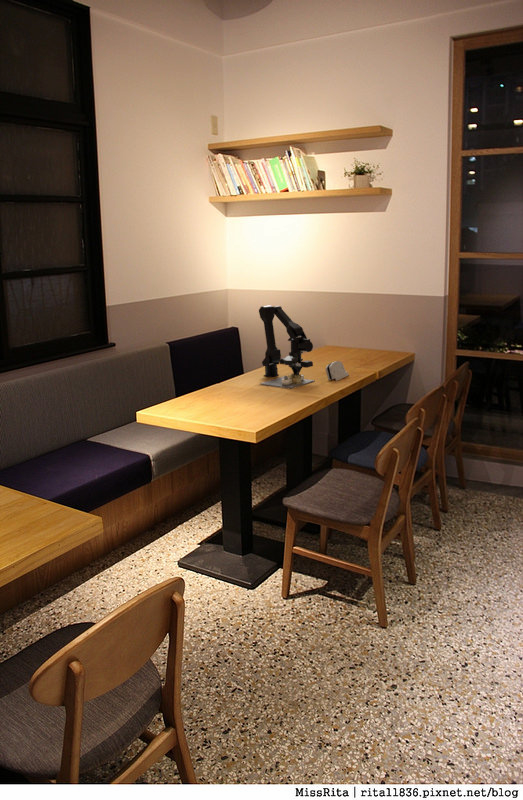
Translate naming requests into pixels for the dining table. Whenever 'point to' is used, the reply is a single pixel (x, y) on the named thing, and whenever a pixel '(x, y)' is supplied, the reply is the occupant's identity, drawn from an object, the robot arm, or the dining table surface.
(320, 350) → the dining table surface
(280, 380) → the board
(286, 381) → the link
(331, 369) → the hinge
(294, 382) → the block
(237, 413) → the dining table surface
